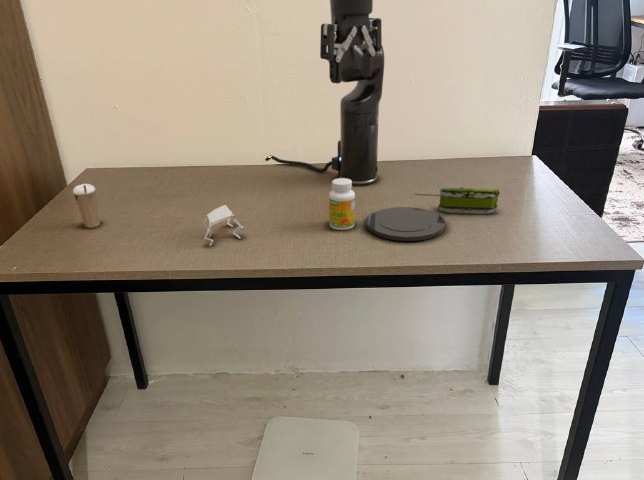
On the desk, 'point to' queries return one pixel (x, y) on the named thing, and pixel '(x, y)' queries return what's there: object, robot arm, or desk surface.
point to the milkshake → (87, 204)
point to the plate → (405, 223)
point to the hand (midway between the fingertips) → (351, 79)
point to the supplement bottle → (341, 205)
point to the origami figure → (218, 216)
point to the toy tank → (468, 200)
